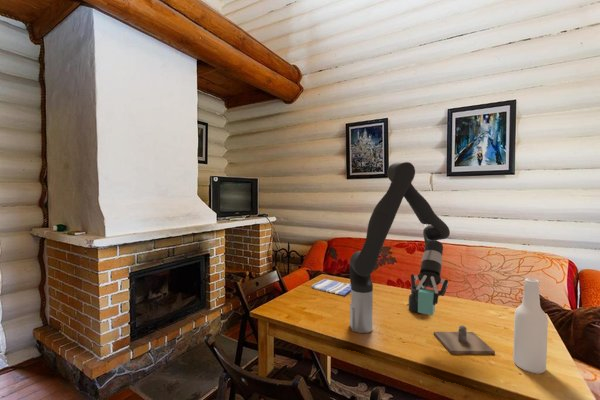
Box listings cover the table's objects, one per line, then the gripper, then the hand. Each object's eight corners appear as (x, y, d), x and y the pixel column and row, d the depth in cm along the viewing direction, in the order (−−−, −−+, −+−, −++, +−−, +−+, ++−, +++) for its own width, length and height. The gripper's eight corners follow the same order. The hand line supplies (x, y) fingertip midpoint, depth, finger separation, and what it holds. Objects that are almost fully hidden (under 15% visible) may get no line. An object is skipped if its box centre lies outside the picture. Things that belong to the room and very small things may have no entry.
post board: (450, 354, 105) (451, 334, 105) (433, 334, 119) (434, 317, 119) (494, 354, 105) (495, 335, 105) (472, 334, 119) (472, 317, 119)
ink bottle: (425, 306, 147) (425, 283, 146) (431, 314, 138) (431, 289, 138) (405, 306, 148) (405, 283, 147) (410, 313, 139) (410, 289, 139)
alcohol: (550, 377, 92) (554, 285, 91) (517, 371, 95) (520, 282, 94) (539, 361, 100) (542, 277, 99) (509, 356, 104) (512, 274, 102)
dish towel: (325, 281, 188) (325, 277, 188) (358, 289, 174) (358, 284, 174) (310, 289, 175) (310, 284, 175) (344, 297, 160) (344, 293, 160)
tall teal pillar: (417, 312, 109) (418, 291, 109) (420, 307, 113) (420, 287, 113) (432, 315, 106) (433, 294, 106) (434, 310, 111) (435, 290, 110)
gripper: (411, 256, 119) (404, 293, 110) (450, 261, 111) (446, 302, 102) (414, 266, 124) (407, 302, 114) (451, 271, 116) (447, 311, 106)
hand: (425, 302), depth 108 cm, fingers closed on tall teal pillar, 5 cm apart
